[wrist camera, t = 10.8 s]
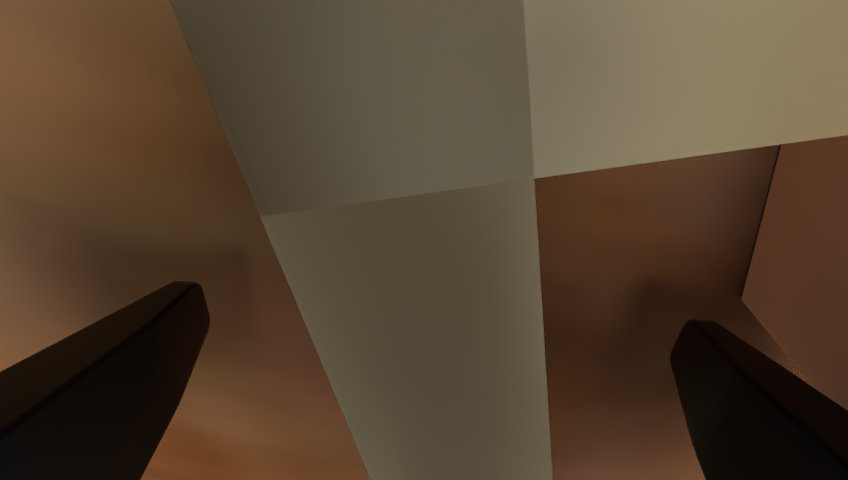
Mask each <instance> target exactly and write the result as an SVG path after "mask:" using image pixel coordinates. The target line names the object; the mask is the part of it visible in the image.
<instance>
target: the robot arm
mask: <svg viewBox="0 0 848 480" xmlns="http://www.w3.org/2000/svg"><path fill="white" fill-rule="evenodd" d="M209 325H210V316H209V311H208V308H207V304H206V300H205V296H204V292H203V289H202V287H201V285H200V284H199V283H197V282H188V281H174V282H172V283H170V284H168V285H166V286H164V287H162V288H160V289H159V290H157V291H155V292H153V293H151V294H149V295H147V296H145V297H143V298H141V299H139V300H137V301H135V302H134V303H132V304H130V305H128V306H126V307H124V308H122V309H120V310H118V311H116V312H114V313H112V314H111V315H109V316H107V317H105V318H103V319H101V320H99V321H97V322H95V323H93V324H91V325H89V326H87V327H86V328H84V329H82V330H80V331H78V332H76V333H74V334H72V335H70V336H68V337H66V338H64V339H62V340H61V341H59V342H57V343H55V344H53V345H51V346H49V347H47V348H45V349H43V350H41V351H39V352H38V353H36V354H34V355H32V356H30V357H28V358H26V359H24V360H22V361H20V362H18V363H16V364H14V365H13V366H11V367H9V368H7V369H5V370H3V371H1V372H0V480H140V479H141V477H142V475H143V473H144V471H145V469H146V467H147V465H148V463H149V462H150V460H151V458H152V456H153V454H154V452H155V450H156V448H157V446H158V444H159V442H160V440H161V438H162V437H163V435H164V433H165V431H166V429H167V427H168V425H169V423H170V421H171V419H172V417H173V415H174V413H175V411H176V409H177V407H178V405H179V403H180V401H181V398H182V396H183V393H184V391H185V389H186V386H187V383H188V381H189V378H190V376H191V373H192V371H193V368H194V365H195V363H196V360H197V358H198V355H199V352H200V350H201V347H202V345H203V342H204V340H205V337H206V334H207V332H208V329H209ZM670 362H671V367H672V371H673V375H674V378H675V382H676V386H677V390H678V393H679V397H680V401H681V404H682V408H683V412H684V416H685V419H686V423H687V427H688V430H689V434H690V437H691V440H692V444H693V447H694V449H695V452H696V455H697V458H698V460H699V463H700V466H701V468H702V471H703V473H704V476H705V478H706V480H848V410H846V409H845V408H843V407H842V406H840V405H839V404H837V403H836V402H834V401H833V400H831V399H830V398H828V397H827V396H825V395H824V394H822V393H821V392H819V391H818V390H816V389H815V388H813V387H812V386H810V385H809V384H807V383H806V382H804V381H803V380H801V379H800V378H798V377H797V376H795V375H794V374H792V373H791V372H789V371H788V370H787V369H785V368H784V367H782V366H781V365H779V364H778V363H776V362H775V361H773V360H772V359H770V358H769V357H767V356H766V355H764V354H763V353H761V352H760V351H758V350H757V349H755V348H754V347H752V346H751V345H749V344H748V343H746V342H745V341H743V340H742V339H740V338H739V337H737V336H736V335H734V334H733V333H731V332H730V331H728V330H727V329H725V328H724V327H722V326H721V325H719V324H718V323H716V322H714V321H710V320H698V319H691V320H688V321H687V322H686V323H685V324H684V326H683V328H682V330H681V332H680V334H679V336H678V338H677V341H676V343H675V345H674V347H673V349H672V352H671V356H670Z"/></svg>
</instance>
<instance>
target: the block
mask: <svg viewBox="0 0 848 480" xmlns="http://www.w3.org/2000/svg"><path fill="white" fill-rule="evenodd" d="M741 300H742V301H743V303H744V304H745V305H746V306H747V308H748V309H749V310H750V311H751V312H752V314H753V315H754V316H755V317H756V319H757V320H758V321H759V322H760V324H761V325H762V326H763V327H764V328H765V330H766V331H767V332H768V333H769V335H770V336H771V337H772V338H773V339H774V341H775V342H776V343H777V344H778V346H779V347H780V348H781V349H782V350H783V352H784V353H785V354H786V355H787V357H788V358H789V359H790V360H791V361H792V363H793V364H794V365H795V366H796V368H797V369H798V370H799V371H800V373H801V374H802V375H803V376H804V377H805V379H806V380H807V381H808V382H809V384H810V385H811V386H812V387H813V388H815V389H816V390H818V391H819V392H821V393H822V394H824V395H825V396H827V397H828V398H830V399H831V400H833V401H834V402H836V403H837V404H839V405H840V406H842V407H843V408H845V409H846V410H848V135H845V136H838V137H830V138H823V139H816V140H809V141H802V142H794V143H787V144H781V147H780V151H779V155H778V159H777V163H776V167H775V171H774V174H773V178H772V182H771V186H770V190H769V194H768V198H767V202H766V205H765V209H764V213H763V217H762V221H761V225H760V229H759V233H758V236H757V240H756V244H755V248H754V252H753V256H752V260H751V263H750V267H749V271H748V275H747V279H746V283H745V287H744V291H743V294H742V298H741Z"/></svg>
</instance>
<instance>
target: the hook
mask: <svg viewBox="0 0 848 480" xmlns="http://www.w3.org/2000/svg"><path fill="white" fill-rule="evenodd" d="M169 1H170V3H171V6H172V8H173V11H174V13H175V15H176V18H177V20H178V22H179V25H180V27H181V30H182V32H183V34H184V37H185V39H186V42H187V44H188V46H189V49H190V51H191V53H192V56H193V58H194V61H195V63H196V65H197V68H198V70H199V72H200V75H201V77H202V80H203V82H204V84H205V87H206V89H207V92H208V94H209V96H210V99H211V101H212V103H213V106H214V108H215V111H216V113H217V115H218V118H219V120H220V122H221V125H222V127H223V130H224V132H225V134H226V137H227V139H228V141H229V144H230V146H231V149H232V151H233V153H234V156H235V158H236V161H237V163H238V165H239V168H240V170H241V172H242V175H243V177H244V180H245V182H246V184H247V187H248V189H249V191H250V194H251V196H252V199H253V201H254V203H255V206H256V208H257V211H258V213H259V215H260V218H261V220H262V222H263V225H264V227H265V230H266V232H267V234H268V237H269V239H270V241H271V244H272V246H273V249H274V251H275V253H276V256H277V258H278V261H279V263H280V265H281V268H282V270H283V272H284V275H285V277H286V280H287V282H288V284H289V287H290V289H291V291H292V294H293V296H294V299H295V301H296V303H297V306H298V308H299V311H300V313H301V315H302V318H303V320H304V322H305V325H306V327H307V330H308V332H309V334H310V337H311V339H312V341H313V344H314V346H315V349H316V351H317V353H318V356H319V358H320V361H321V363H322V365H323V368H324V370H325V372H326V375H327V377H328V380H329V382H330V384H331V387H332V389H333V391H334V394H335V396H336V399H337V401H338V403H339V406H340V408H341V411H342V413H343V415H344V418H345V420H346V422H347V425H348V427H349V430H350V432H351V434H352V437H353V439H354V441H355V444H356V446H357V449H358V451H359V453H360V456H361V458H362V460H363V463H364V465H365V468H366V470H367V472H368V475H369V477H370V480H553V474H552V457H551V441H550V425H549V408H548V392H547V376H546V359H545V343H544V327H543V310H542V294H541V277H540V261H539V245H538V228H537V212H536V196H535V178H542V177H549V176H557V175H564V174H571V173H578V172H585V171H593V170H600V169H607V168H614V167H621V166H629V165H636V164H643V163H650V162H657V161H665V160H672V159H679V158H686V157H693V156H701V155H708V154H715V153H722V152H730V151H737V150H744V149H751V148H758V147H766V146H773V145H780V144H787V143H794V142H802V141H809V140H816V139H823V138H830V137H838V136H845V135H848V0H169Z"/></svg>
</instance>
